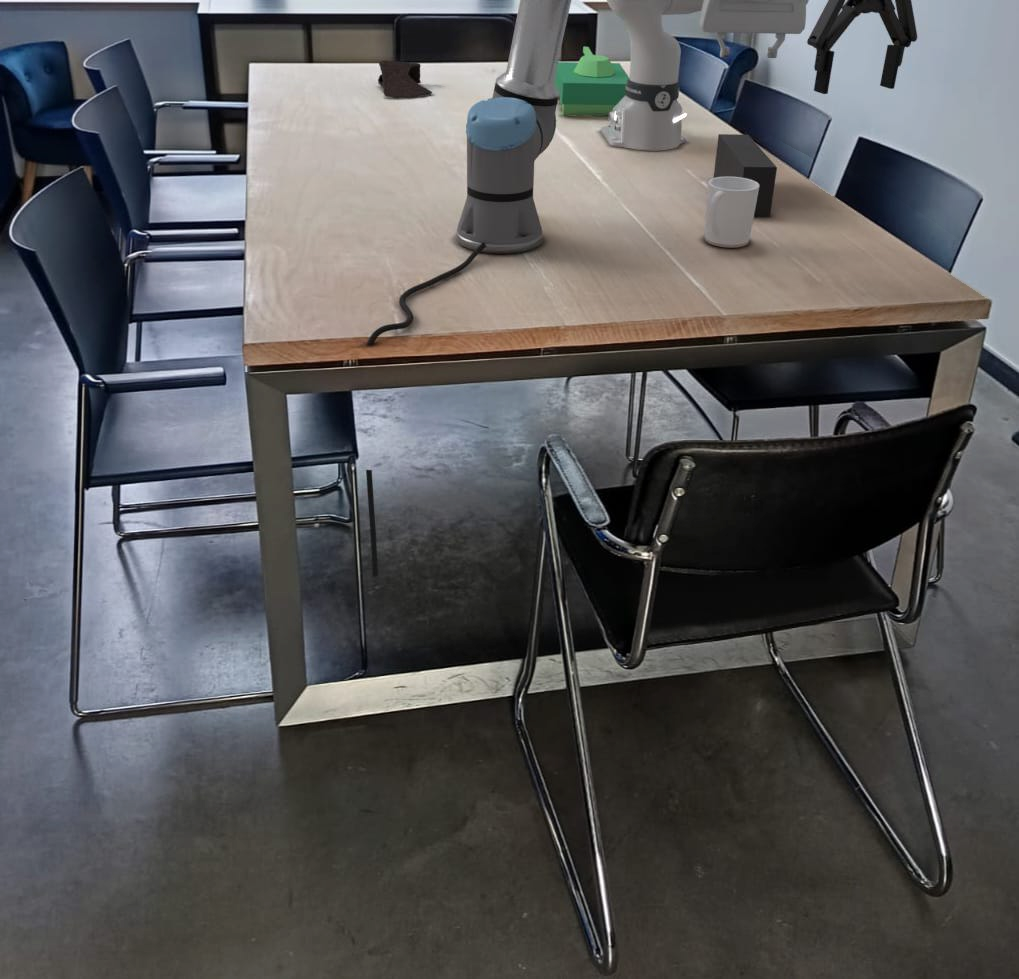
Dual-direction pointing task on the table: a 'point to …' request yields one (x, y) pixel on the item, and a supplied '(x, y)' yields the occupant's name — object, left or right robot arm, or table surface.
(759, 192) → the box
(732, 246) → the mug
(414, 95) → the axe head
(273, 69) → the table surface
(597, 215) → the table surface
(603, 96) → the toy tank
